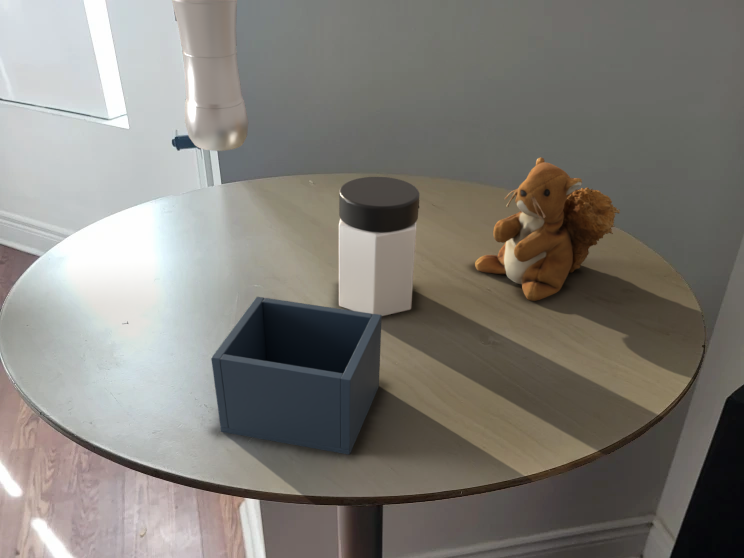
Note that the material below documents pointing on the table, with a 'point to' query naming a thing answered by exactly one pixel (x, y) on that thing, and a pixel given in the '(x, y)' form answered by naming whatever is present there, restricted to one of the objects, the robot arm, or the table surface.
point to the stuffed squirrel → (548, 230)
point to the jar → (377, 244)
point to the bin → (298, 374)
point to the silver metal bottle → (211, 74)
